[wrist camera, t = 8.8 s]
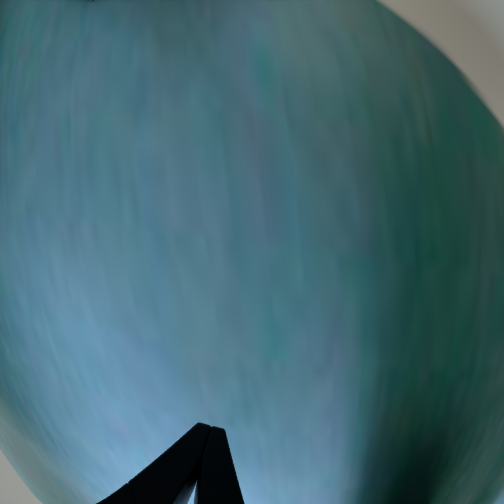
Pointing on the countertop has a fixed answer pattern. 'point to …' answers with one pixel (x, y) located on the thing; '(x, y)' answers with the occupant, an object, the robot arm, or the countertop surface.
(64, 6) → the countertop surface
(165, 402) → the countertop surface
